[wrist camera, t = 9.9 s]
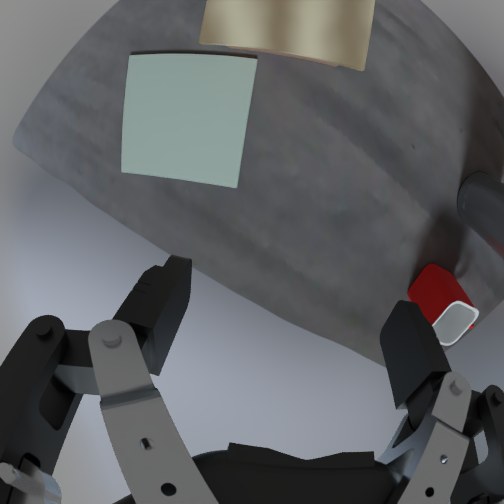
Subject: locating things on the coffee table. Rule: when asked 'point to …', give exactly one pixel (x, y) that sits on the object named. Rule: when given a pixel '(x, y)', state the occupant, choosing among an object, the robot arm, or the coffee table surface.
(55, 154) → the coffee table surface
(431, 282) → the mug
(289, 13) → the lid
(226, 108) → the mat
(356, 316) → the coffee table surface
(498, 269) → the coffee table surface
